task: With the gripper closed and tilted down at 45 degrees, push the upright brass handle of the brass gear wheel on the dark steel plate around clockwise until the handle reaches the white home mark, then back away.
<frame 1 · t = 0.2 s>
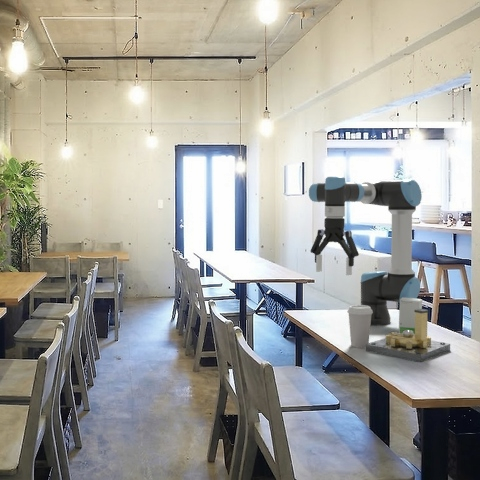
hand: (333, 273, 221), 28 cm above the table, tool pointing down, fingers open, 13 cm apart
coffee cup: (359, 346, 223), on the table
brass gear wheel: (408, 325, 214), point 9 cm above the table, hinge at 65.0°
skincare box: (410, 337, 237), on the table
steel plate: (407, 350, 215), on the table
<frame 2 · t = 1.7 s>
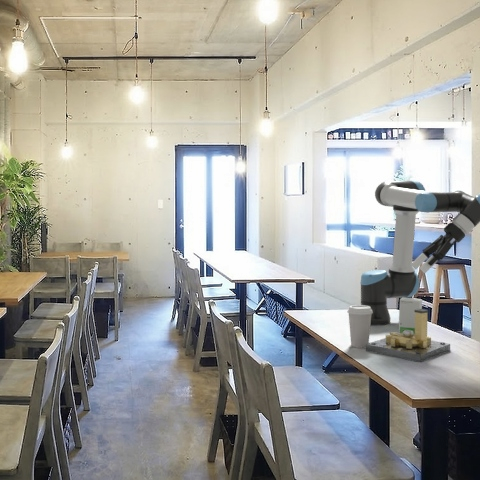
hand: (417, 269, 218), 30 cm above the table, tool tilted 45°, fingers open, 13 cm apart
nothing on the table moved.
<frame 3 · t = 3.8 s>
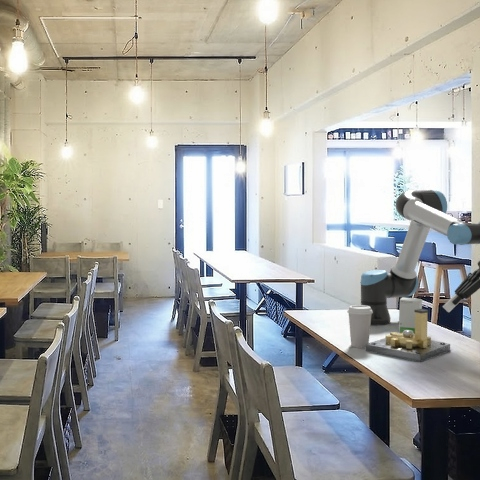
hand: (445, 309, 208), 16 cm above the table, tool tilted 45°, fingers closed
nothing on the table moved.
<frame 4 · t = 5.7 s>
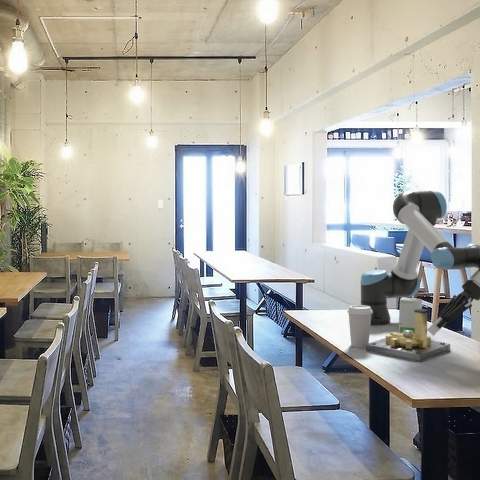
hand: (430, 332, 209), 8 cm above the table, tool tilted 45°, fingers closed
brass gear wheel: (408, 325, 214), point 9 cm above the table, hinge at 64.1°, touching gripper
everything else where it was.
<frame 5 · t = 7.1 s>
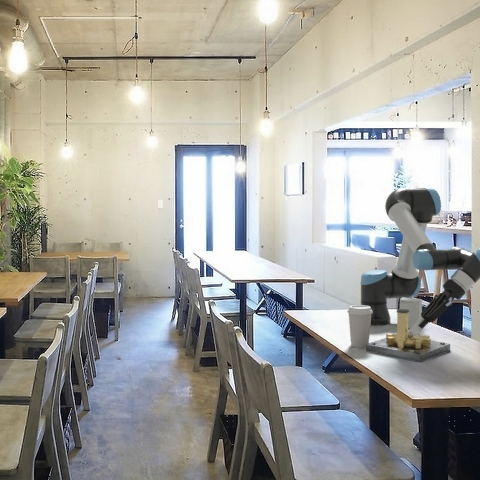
hand: (412, 332, 209), 8 cm above the table, tool tilted 45°, fingers closed
brass gear wheel: (408, 325, 214), point 9 cm above the table, hinge at -1.6°, touching gripper
everything else where it was.
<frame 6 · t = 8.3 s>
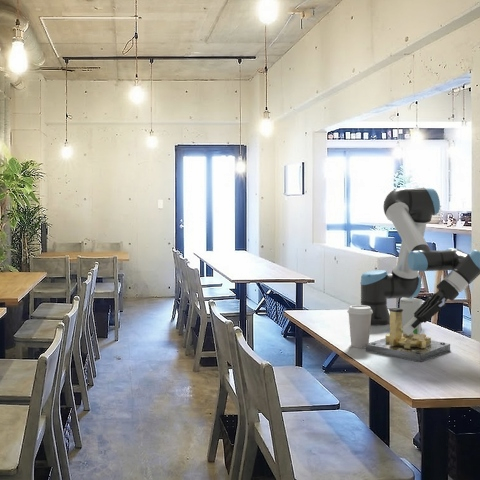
hand: (404, 332, 209), 8 cm above the table, tool tilted 45°, fingers closed
brass gear wheel: (408, 325, 214), point 9 cm above the table, hinge at -29.6°
everything else where it was.
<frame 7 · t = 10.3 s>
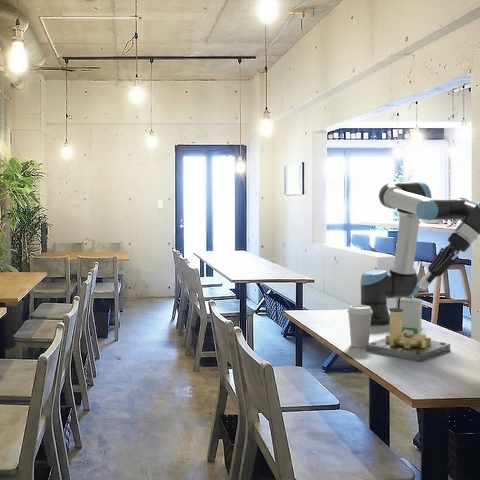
hand: (420, 287, 215), 23 cm above the table, tool tilted 40°, fingers closed
nothing on the table moved.
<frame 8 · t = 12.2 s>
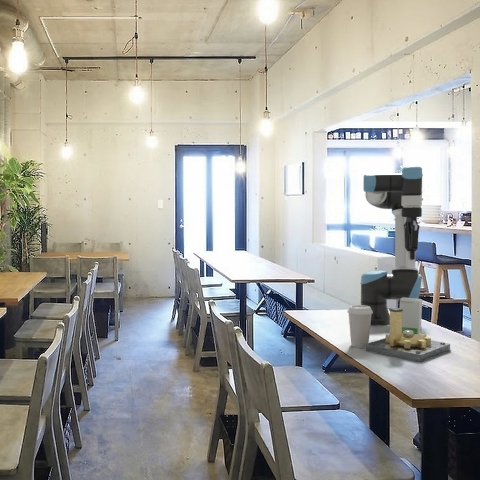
hand: (410, 267, 226), 29 cm above the table, tool pointing down, fingers closed
nothing on the table moved.
at the end: brass gear wheel at -30° (first picture: +65°) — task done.
